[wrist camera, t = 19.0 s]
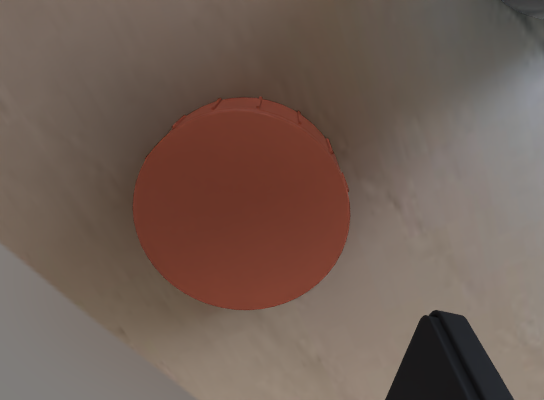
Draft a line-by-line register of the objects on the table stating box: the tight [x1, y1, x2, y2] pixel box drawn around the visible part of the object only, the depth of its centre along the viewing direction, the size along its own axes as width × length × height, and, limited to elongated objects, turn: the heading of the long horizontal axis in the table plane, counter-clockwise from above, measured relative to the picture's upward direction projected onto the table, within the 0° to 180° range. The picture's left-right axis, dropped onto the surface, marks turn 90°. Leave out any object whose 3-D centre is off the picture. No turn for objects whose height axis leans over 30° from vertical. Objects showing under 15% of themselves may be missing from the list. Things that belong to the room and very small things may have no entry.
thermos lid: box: [133, 97, 350, 310], centre depth 17 cm, size 7×7×2 cm
